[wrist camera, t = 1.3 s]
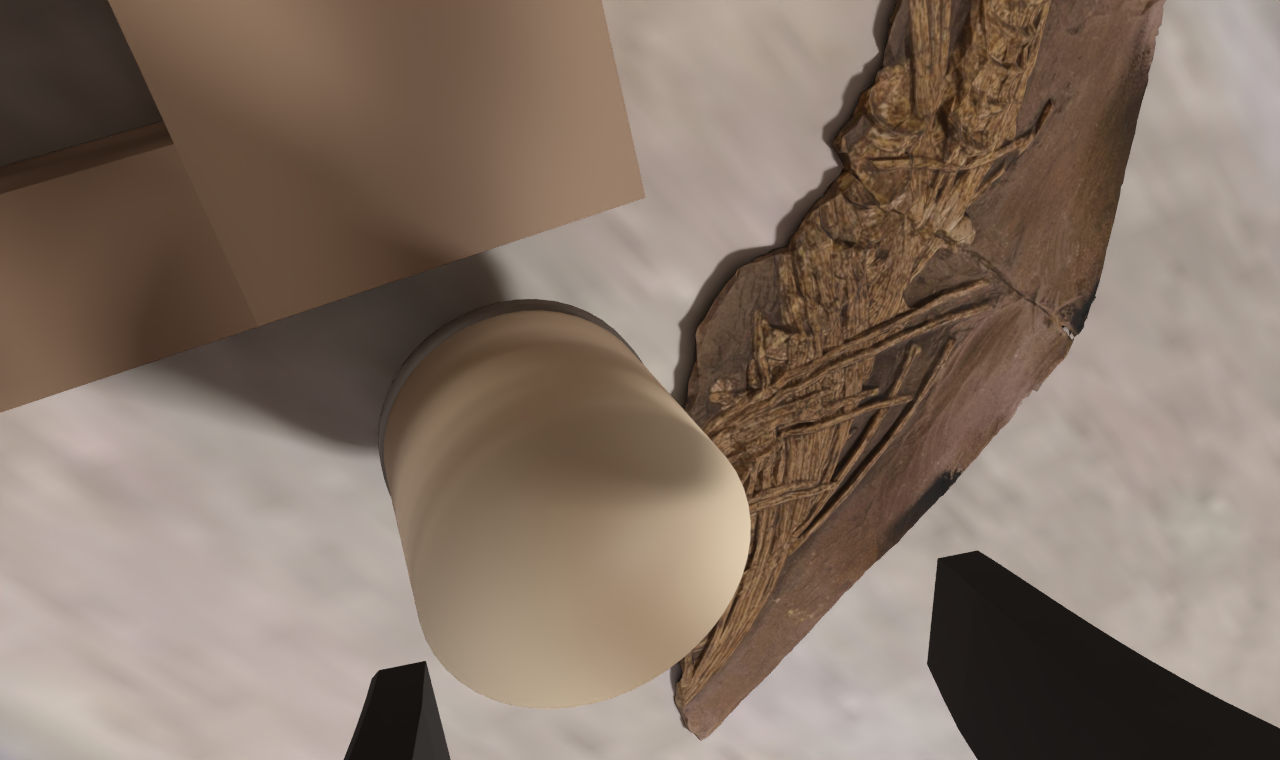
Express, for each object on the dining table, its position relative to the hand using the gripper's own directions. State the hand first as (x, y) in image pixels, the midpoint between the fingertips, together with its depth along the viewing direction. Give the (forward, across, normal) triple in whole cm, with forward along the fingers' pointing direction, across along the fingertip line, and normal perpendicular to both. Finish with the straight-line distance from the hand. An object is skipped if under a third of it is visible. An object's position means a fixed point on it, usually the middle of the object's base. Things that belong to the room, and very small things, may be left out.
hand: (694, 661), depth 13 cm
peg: (+10, +2, 0) cm, 10 cm away
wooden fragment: (+12, -8, +2) cm, 14 cm away
